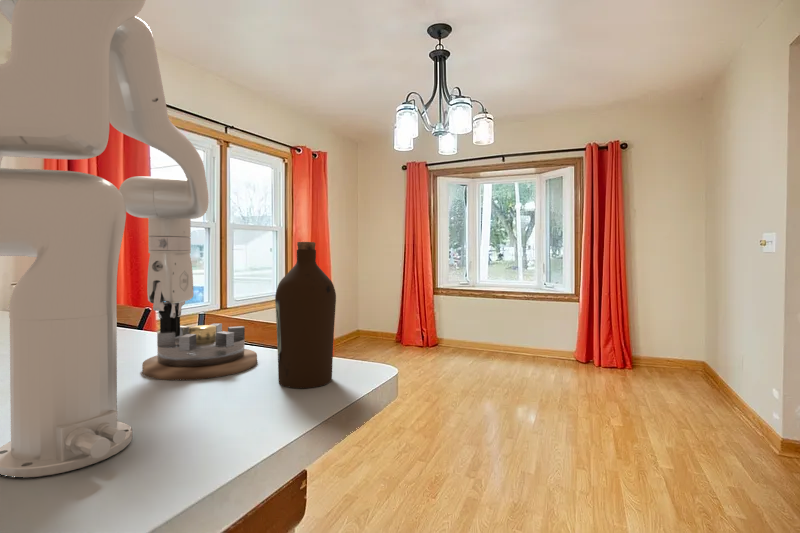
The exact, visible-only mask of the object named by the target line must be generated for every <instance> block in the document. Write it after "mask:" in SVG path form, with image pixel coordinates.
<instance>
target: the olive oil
mask: <svg viewBox="0 0 800 533" xmlns="http://www.w3.org/2000/svg"><path fill="white" fill-rule="evenodd" d="M296 245H297V249H296V263H295V265H294V266H293V267H292V268H291V269H290V270H289V271H288V272H287V274H285V275H284V276H283V277H282V279H281V280H280V281H279V283H278V285H277V287H276V290H275V291H276V292H275V296H274V297H275V298H274V301H275V303H274V305H275V320H276V321H275V322H276V344H277V345H276V346H277V366H278V367H277V371H278V374H277V376H278V384H280V385H281V386H282V387H285V388H290V389H312V388H319V387H323V386H326V385H328V384H329V383H331V382H332V380H333V379H332V378H333V358H334V357H333V356H334V352H333V351H334V341H335V340H334V339H335V338H334V337H335V322H336V321H335V318H336V306H337V305H336V304H337V293H336V289H335V285H334V283H333V282H332V280H331V279H330V278H329V276H328V275H327V274H326V273H325V272H324V271H323V270H322V269H321V267H320V266H319V265H318V264H317V261H316V260H317V259H316V258H317V250H316V242H314V241H298V242H297V244H296Z"/></svg>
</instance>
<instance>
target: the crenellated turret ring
mask: <svg viewBox="0 0 800 533" xmlns="http://www.w3.org/2000/svg"><path fill="white" fill-rule="evenodd" d="M245 329H246V328H245V326H244V325H240V326H239V325H238V326H237V325H236V326H227V331H225V330H223V323H218V322H217V323H211V324H209V325H208V324H205V325H204V324H202V325H194V326H187V325H186V326H185V325H180V336H178V337H175V331H168V332H160V331H157V332H156V333H157V334H156V342H157V343H156V346H157V347H156V348H157V355H156V356H157V361H158V363H160V364H163V365H167V366H177V367H193V366H206V365H215V364H221V363H226V362H230V361H234V360H237V359H239V358H241V357H243V356H244V349H245V340H246V338H245V331H246V330H245Z"/></svg>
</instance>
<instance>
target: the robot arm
mask: <svg viewBox="0 0 800 533" xmlns="http://www.w3.org/2000/svg"><path fill="white" fill-rule="evenodd" d="M145 4H146V0H0V14H1V15H2V16H3V17H4V18H5V19H6V20H7V22H9V24H11V36H10V37H11V41H10V42H11V45H10V56H9V58H8V60H7V61H6V62H4V63H0V257H29V258H30V257H31V258H36V259H35V260H34V261H33V263H32V264H31V266H29V268H28V269H27V270H26V271H25V272H24V274H22V276H21V277H20V278H19V280H18V281H17V283H16V285H14V288H13V290H12V293H11V295H10V297H9V298H10V299H9V304H8V305H9V306H8V308H9V309H8V310H9V311H8V313H9V314H8V315H9V378H10V379H9V380H10V382H9V383H10V384H9V385H10V388H9V390H10V391H9V392H10V396H9V397H10V441H9V442H6V443H5V444H3V445H1V446H0V474H1V475H7V476H13V477H12V478H15V477H23V478H25V479H26V478H37V477H46V476H51V475H57V474H62V473H67V472H70V471H74V470H80V469H83V468H86V467H88V466H91V465H94V464H97V463H100V462H102V461H104V460H106V459H108V458H111V457H113V456H114V455H115V456H116V454H118V453H120V452H121V451H123V450H124V449H125V448H126V447H128V445H130V443H131V442H132V440H133V428H132V426H130V425H129V424H127V423H125V422H122V421H119V420H118V373H117V372H118V351H117V350H118V347H117V345H118V344H117V342H118V341H117V340H118V339H117V336H118V334H117V333H118V332H117V330H118V328H117V325H118V324H117V323H118V322H117V320H118V319H117V318H118V317H117V316H118V315H117V313H118V312H117V311H118V310H117V307H118V306H117V299H118V296H117V293H118V292H117V290H118V289H117V288H118V286H117V285H118V269H119V261H120V253H121V247H122V242H123V238H124V232H125V228H126V219H127V214H129V215H131V216H133V217H136V218H139V219H140V218H141V219H147V220H148V222H147V223H148V224H147V225H148V227H147V228H148V229H147V230H148V237H147V238H148V241H147V242H148V244H147V245H148V254H149V259H148V267H147V288H146V289H147V290H146V293H147V301H148V302H150V304H153V305H152V310H153V311H156V312H158V318H159V332H168V331H175V337H178V336H180V326H181V316H182V307H183V306H185V304H186V302H187V301H190V300H192V298H193V297H194V277H193V263H192V258H191V254H192V253H191V252H192V246H191V244H192V243H191V242H192V241H191V235H192V234H191V228H192V227H191V226H192V225H191V224H192V223H191V220H195V219H199V218H200V219H201V218H202V217H203V216H204V215H205V214H206V213H207V211H208V209H209V203H210V202H209V189H208V184H207V177H206V170H205V165H204V162H203V159H202V158H201V155H200V154H199V152H198V150H197V149H196V147H195V146H194V145H193V143H192V142H191V140H190V139H188V138H187V136H186V135H185V134H184V133H183V132H182V131H181V130H180V129H179V128H178V127H176V126H175V125H174V123H173V122H172V121H171V119H170V118H169V115H168V114H169V113H168V108H167V102H166V98H165V92H164V87H163V82H162V76H161V70H160V64H159V59H158V54H157V48H156V44H155V43H156V42H155V38H154V35H153V33H152V31H151V29H150V26H148V24H147V23H146V22H145V21H144V20H142V19H141V18H140V17H137V15H138V14H139V13H140V12H141V11H142V9H143V8H144V6H145ZM110 125H111V126H112V128H114V129H116V130H117V131H118V132H120V133H122V134H123V135H126V136H127V137H129V138H132V139H134V140H136V141H138V142H141V143H143V144H145V145H148V146H150V147H152V148H154V149H156V150H158V151H160V152H162V153H163V154H165V155H166V156H168V157H169V158H171V159H172V160H173V161H174V162H176V163H177V164H178V166H179V167H180V168H181V170H182V171H183V172H184V174H185V177H173V176H172V177H170V176H168V177H167V176H146V175H145V176H142V175H141V176H139V175H138V176H131V177H129V178H127V179H125V180H124V181H123V182H122V183H121V185H120V186H119V189H118V188H117V186H115V185H114V184H113V183H111V181H108V180H106V179H105V178H103V177H101V176H98V175H95V174H92V173H85V172H81V171H74V170H73V171H71V170H58V169H57V170H56V169H36V168H9V167H8V168H4V167H1V166H2V160H3V158H4V157H12V158H13V157H14V158H30V159H50V160H86V159H87V160H88V159H91V158H92V159H93V158H96V157H97V156H100V155H102V153H103V152H104V151H105V150H106V148H107V145H108V141H109V135H110ZM1 475H0V476H1ZM14 476H15V477H14ZM23 478H22V479H23Z"/></svg>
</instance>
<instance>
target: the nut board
mask: <svg viewBox="0 0 800 533" xmlns="http://www.w3.org/2000/svg"><path fill="white" fill-rule="evenodd" d="M257 363H258V354H257V352H256V351H254V350H251V349H247V348H244V356H243V357H241V358H239V359H237V360H234V361H230V362H226V363H221V364H215V365H206V366H193V367H177V366H167V365H163V364H160V363H158V361H157V355H153V356H151V357H149V358H147V359H145V360H144V361H143V362H142V363H141V364H142V366H141V367H142V368H141V369H142V370H141V371H142V374H143V375H144V376H145V377H147V378H151V379H154V380H155V379H156V380H162V381H163V380H164V381H192V380H193V381H195V380H207V379H214V378H221V377H226V376H231V375H235V374H238V373H242V372H245V371H247V370H250V369H252V368H253V367H255V366H256V365H257Z"/></svg>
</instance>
